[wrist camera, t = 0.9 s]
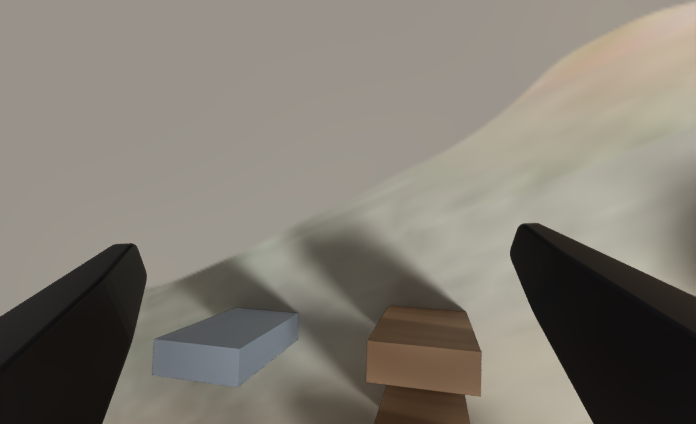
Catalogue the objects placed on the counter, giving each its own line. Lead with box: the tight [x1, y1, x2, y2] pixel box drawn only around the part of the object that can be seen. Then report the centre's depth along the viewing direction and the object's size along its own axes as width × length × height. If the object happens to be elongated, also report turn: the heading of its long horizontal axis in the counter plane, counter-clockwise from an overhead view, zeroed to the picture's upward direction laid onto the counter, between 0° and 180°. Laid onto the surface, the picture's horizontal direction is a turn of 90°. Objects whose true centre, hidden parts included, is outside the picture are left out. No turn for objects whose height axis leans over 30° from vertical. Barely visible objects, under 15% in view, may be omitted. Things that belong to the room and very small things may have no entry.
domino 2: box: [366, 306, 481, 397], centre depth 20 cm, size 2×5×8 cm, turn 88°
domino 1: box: [152, 308, 299, 387], centre depth 22 cm, size 2×5×8 cm, turn 88°
